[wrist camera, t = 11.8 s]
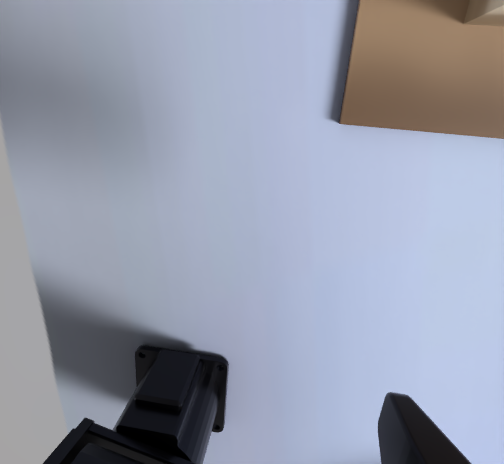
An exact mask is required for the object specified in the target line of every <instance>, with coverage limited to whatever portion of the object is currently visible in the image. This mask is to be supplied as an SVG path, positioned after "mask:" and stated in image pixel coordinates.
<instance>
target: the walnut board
mask: <svg viewBox="0 0 504 464" xmlns="http://www.w3.org/2000/svg"><path fill="white" fill-rule="evenodd" d="M469 1H470V0H359V3H358V10H357V16H356V22H355V28H354V34H353V40H352V46H351V53H350V59H349V65H348V71H347V77H346V83H345V90H344V96H343V102H342V108H341V114H340V120H339V124H346V125H357V126H368V127H379V128H391V129H402V130H413V131H424V132H435V133H446V134H457V135H468V136H479V137H490V138H501V139H504V27H503V26H486V25H469V24H464V21H465V17H466V13H467V9H468V5H469Z"/></svg>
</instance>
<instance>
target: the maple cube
mask: <svg viewBox="0 0 504 464" xmlns="http://www.w3.org/2000/svg"><path fill="white" fill-rule="evenodd" d="M464 24H469V25H486V26H503V27H504V0H470V1H469V5H468V9H467V13H466V17H465V21H464Z"/></svg>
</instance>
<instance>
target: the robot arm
mask: <svg viewBox="0 0 504 464" xmlns="http://www.w3.org/2000/svg"><path fill="white" fill-rule="evenodd" d="M142 352H143V353H144V354H143V353H142ZM135 362H136V381H137V388H136V390H135V392H134V394H133V395H132V397H131V399H130V401H129V402H128V404H127V406H126V407H125V409H124V411H123V413H122V414H121V416H120V418H119V420H118V421H117V423H116V425H115V427H114V428H113V430H111V429H108V428H105V427H103V426H100V425H98V424H95V423H94V421H93V420H90V419H88V418H84V419H83V420H82V422H81V423H80V424H79V425H78V426H77V427H76V429H74V428H73V429H72V430H71V432H70V433H69V434H68V435H67V436H66V437H65V439H64V440H63V441H62V442H61V443H60V444H59V445H58V447H57V448H56V449H55V450H54V451H53V452H52V454H51V455H50V456H49V457H48V458H47V459H46V460H45V462H44V463H43V464H203V461H204V457H205V453H206V450H207V446H208V442H209V439H210V435H211V431H212V432H221V431H223V428H224V424H225V410H226V396H227V381H228V367H229V364H228V361H227V360H225V359H224V358H219V357H213V356H206V355H200V354H194V353H188V352H181V351H175V350H169V349H162V348H156V347H150V346H140V347H139V348H138V349H137V351H136V352H135ZM219 365H222V366H223V367H221V366H219ZM378 437H379V446H380V455H381V464H471V463H470V462H469V460H468V459H467V458H466V457H465V456H464V455H463V454H462V453H461V452H460V451H459V450H458V448H457V447H456V446H455V445H454V444H453V443H452V442H451V441H450V440H449V439H448V438H447V437H446V435H445V434H444V433H443V432H442V431H441V430H440V429H439V428H438V427H437V426H436V425H435V423H434V422H433V421H432V420H431V419H430V418H429V417H428V416H427V415H426V414H425V413H424V411H423V410H422V409H421V408H420V407H419V406H418V405H417V404H416V403H415V402H414V401H413V400H412V398H410V397H409V396H408V395H405V394H399V393H393V392H389V393H387V395H386V396H385V399H384V403H383V406H382V410H381V413H380V417H379V421H378Z"/></svg>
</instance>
